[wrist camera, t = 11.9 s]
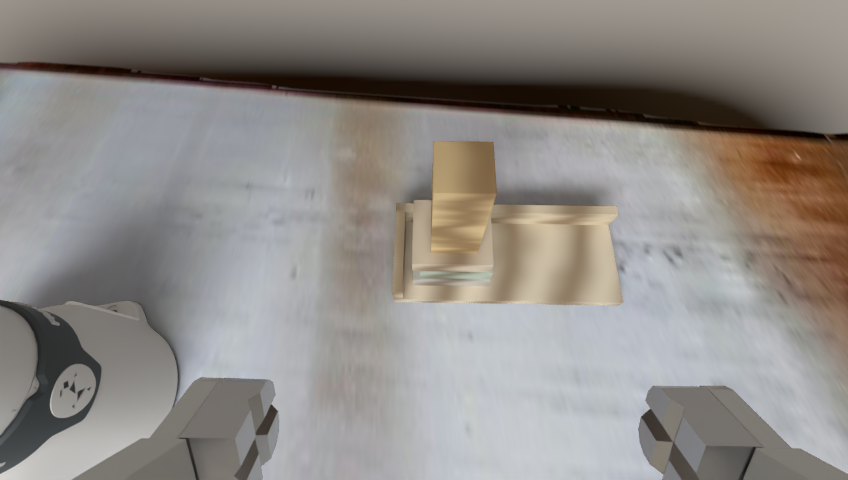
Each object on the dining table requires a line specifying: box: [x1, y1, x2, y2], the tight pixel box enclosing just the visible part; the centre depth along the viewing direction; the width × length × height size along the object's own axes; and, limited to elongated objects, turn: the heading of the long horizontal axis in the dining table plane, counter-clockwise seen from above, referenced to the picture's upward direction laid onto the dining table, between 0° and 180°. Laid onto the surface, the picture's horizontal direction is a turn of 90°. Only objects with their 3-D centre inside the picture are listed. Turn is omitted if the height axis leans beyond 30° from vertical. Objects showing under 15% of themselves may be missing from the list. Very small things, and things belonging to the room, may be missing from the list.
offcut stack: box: [412, 200, 494, 287], centre depth 42 cm, size 8×7×6 cm
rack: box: [392, 203, 623, 305], centre depth 44 cm, size 24×10×4 cm, turn 89°
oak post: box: [431, 141, 497, 253], centre depth 34 cm, size 4×4×11 cm
